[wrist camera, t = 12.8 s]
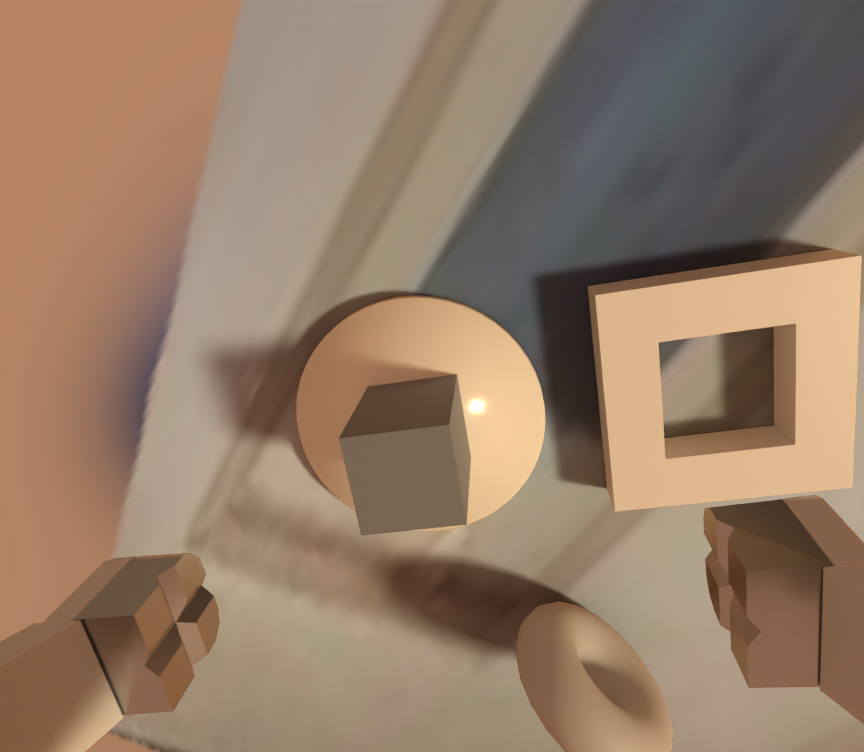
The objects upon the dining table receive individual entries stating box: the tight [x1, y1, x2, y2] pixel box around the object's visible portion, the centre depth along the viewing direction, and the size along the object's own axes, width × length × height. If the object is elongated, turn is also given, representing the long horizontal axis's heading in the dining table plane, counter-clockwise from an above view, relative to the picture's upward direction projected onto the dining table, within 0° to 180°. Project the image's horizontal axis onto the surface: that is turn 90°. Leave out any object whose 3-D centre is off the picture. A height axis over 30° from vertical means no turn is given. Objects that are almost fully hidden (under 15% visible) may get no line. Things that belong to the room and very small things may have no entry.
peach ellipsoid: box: [296, 295, 545, 531], centre depth 35 cm, size 14×14×1 cm
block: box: [339, 374, 471, 535], centre depth 31 cm, size 5×5×7 cm
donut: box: [516, 601, 673, 752], centre depth 34 cm, size 10×4×10 cm, turn 54°
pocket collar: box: [588, 249, 862, 511], centre depth 32 cm, size 12×12×2 cm
